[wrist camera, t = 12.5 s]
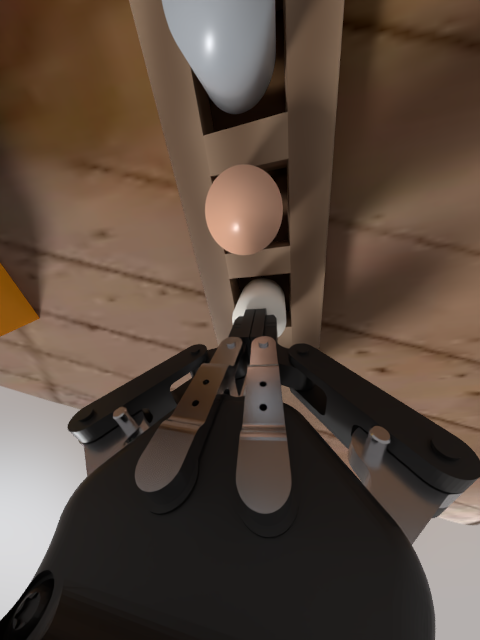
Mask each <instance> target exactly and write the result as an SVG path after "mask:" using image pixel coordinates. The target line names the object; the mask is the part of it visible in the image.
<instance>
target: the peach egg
mask: <svg viewBox="0 0 480 640" xmlns="http://www.w3.org/2000/svg"><path fill="white" fill-rule="evenodd" d="M282 215H283V204H282V198H281V194H280V191H279V189H278V187H277V185H276V183H275V182H274V180H273V179H272V178H271V176H270V175H269V174H267V173H266V172H265V171H264V170H262V169H260V168H258V167H256V166H253V165H247V164H241V165H236V166H233V167H230V168H228V169H226V170H225V171H223V172H222V173H221V174H220V175H219V176H218V177H217V178H216V179H215V180H214V182H213V183H212V185H211V187H210V189H209V191H208V194H207V198H206V203H205V217H206V222H207V226H208V229H209V231H210V233H211V235H212V237H213V238H214V240H215V241H216V242H217V243H218V244H219V245H220V246H221V247H222V248H223V249H225V250H226V251H228V252H230V253H233V254H237V255H251V254H254V253H257V252H259V251H261V250H263V249H264V248H266V247H267V246H268V245H269V244H270V243H271V242H272V241H273V239H274V238H275V236H276V234H277V233H278V230H279V228H280V225H281V221H282Z"/></svg>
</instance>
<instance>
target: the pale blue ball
mask: <svg viewBox="0 0 480 640" xmlns="http://www.w3.org/2000/svg"><path fill="white" fill-rule="evenodd" d="M162 5H163V9H164V13H165V17H166V20H167V23H168V26H169V29H170V31H171V33H172V36H173V38H174V40H175V42H176V44H177V45H178V47H179V49H180V50H181V52H182V53H183V55H184V57H185V58H186V60H187V61H188V63H189V65H190V66H191V68H192V69H193V71H194V73H195V74H196V76H197V78H198V79H199V81H200V82H201V84H202V86H203V87H204V89H205V90H206V92H207V94H208V95H209V97H210V98H211V100H212V101H213V103H214V104H215V105H216V106H217V107H218V108H220V109H221V110H223V111H224V112H227V113H230V114H241V113H244V112H247V111H248V110H250V109H252V108H253V107H254V106H255V105H256V104H257V103H258V102H259V101H260V99H261V98H262V97H263V95H264V93H265V92H266V90H267V88H268V86H269V83H270V81H271V78H272V74H273V70H274V65H275V57H276V25H275V0H162Z"/></svg>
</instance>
